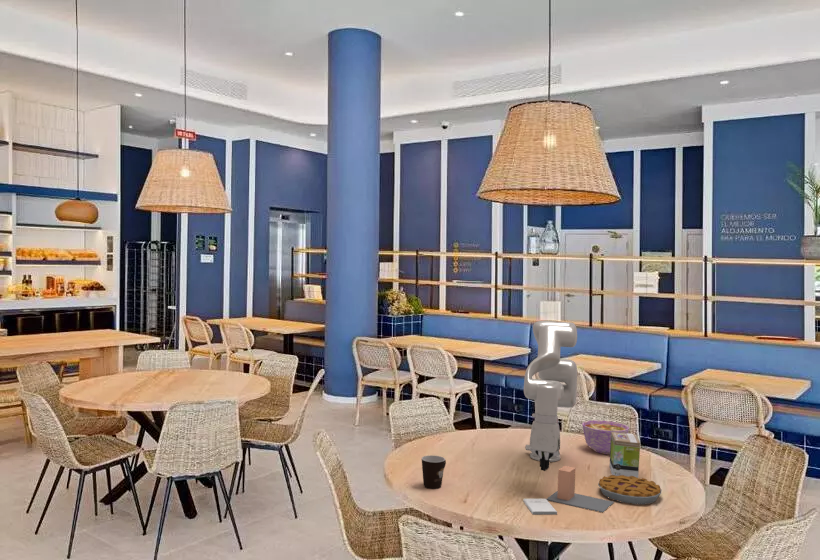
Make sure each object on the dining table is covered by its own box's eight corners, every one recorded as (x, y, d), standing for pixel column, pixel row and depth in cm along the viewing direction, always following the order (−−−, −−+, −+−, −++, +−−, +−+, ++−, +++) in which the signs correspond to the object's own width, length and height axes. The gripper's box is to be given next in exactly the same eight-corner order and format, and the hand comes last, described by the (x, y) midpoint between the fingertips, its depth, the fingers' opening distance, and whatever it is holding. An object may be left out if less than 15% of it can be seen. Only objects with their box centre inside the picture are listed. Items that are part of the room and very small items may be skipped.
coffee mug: (427, 491, 243) (428, 463, 243) (416, 483, 251) (417, 456, 251) (455, 487, 249) (456, 459, 249) (443, 480, 256) (444, 453, 256)
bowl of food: (603, 443, 318) (604, 418, 317) (637, 454, 301) (638, 428, 300) (571, 448, 307) (572, 422, 307) (605, 460, 290) (606, 433, 290)
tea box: (639, 480, 264) (640, 442, 264) (612, 477, 266) (613, 440, 266) (634, 469, 279) (636, 433, 279) (608, 466, 281) (610, 430, 281)
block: (557, 498, 240) (558, 469, 239) (563, 493, 245) (564, 465, 244) (568, 500, 237) (569, 472, 237) (574, 496, 242) (575, 467, 242)
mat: (546, 499, 239) (546, 498, 239) (558, 490, 249) (558, 489, 249) (603, 513, 228) (603, 511, 228) (613, 502, 238) (613, 501, 238)
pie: (606, 481, 262) (607, 468, 262) (666, 493, 251) (667, 479, 250) (590, 497, 243) (590, 483, 243) (654, 511, 232) (655, 496, 232)
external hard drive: (532, 516, 224) (523, 502, 237) (557, 516, 225) (546, 502, 237) (532, 511, 224) (523, 498, 237) (557, 511, 225) (546, 498, 237)
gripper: (522, 417, 246) (520, 468, 246) (562, 423, 237) (560, 476, 238) (530, 413, 252) (528, 463, 252) (570, 420, 244) (568, 471, 244)
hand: (544, 469), depth 245 cm, fingers closed
